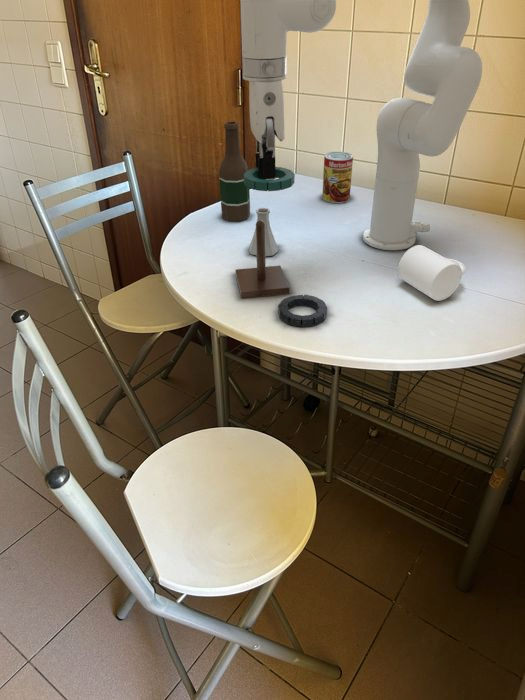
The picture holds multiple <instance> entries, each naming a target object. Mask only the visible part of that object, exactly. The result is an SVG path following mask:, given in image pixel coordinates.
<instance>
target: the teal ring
mask: <svg viewBox="0 0 525 700" xmlns="http://www.w3.org/2000/svg"><path fill="white" fill-rule="evenodd" d="M295 175H296V174H295V173H294V171H293V170H291V169H289V168H286V167H281V166H275V178H274V179H259V178H258V168H256V167H253V168H250V169H248V171H247V172H245V173H244V184H245V186H247V187H248V188H249V189H251V190H254V191H260V192H279V191H283V190H286V189H289V188H291V187H293V185H294V184H295V177H296V176H295Z"/></svg>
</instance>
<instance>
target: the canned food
mask: <svg viewBox="0 0 525 700" xmlns="http://www.w3.org/2000/svg"><path fill="white" fill-rule="evenodd" d="M353 163H354V155H353V154H352V153H350V152H346V151H329V152H327V153H325V154H324V156H323V175H322V176H323V177H322V195H321V197H322V200H323V201H325V202H327V203H332V204H342V203H346V202H348V201H350V199H351V187H352V175H353V165H354V164H353Z"/></svg>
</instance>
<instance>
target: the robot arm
mask: <svg viewBox="0 0 525 700" xmlns="http://www.w3.org/2000/svg"><path fill="white" fill-rule="evenodd" d="M239 1H240V3H239V4H240V31H241V63H242V65H241V66H242V67H241V68H242V79H243V80H244V81H247V82H248V93H249V94H248V97H249V98H248V101H249V103H248V104H249V105H248V106H249V125H250V131H251V133H252V135H253V136H254V138H255V154H254V155H255V168H258V178H259V179H265V180H272V179H276V178H275V167H276V138H277V139H278V141H279V142H283V141H284V140H285V134H286V133H285V103H284V102H285V101H284V88H283V80H285V79H287V56H288V55H287V53H288V52H287V49H288V48H287V47H288V46H287V45H288V42H287V41H288V39H287V38H288V33H289V32H300V33H308V34H309V33H311V34H312V33H317V32H319V31H322V30H323V29H326V27H327V26H328V25H330V24H331V22H332V21H333V19H334V17H335V14H336V10H337V0H239ZM470 7H471V6H470V2H469V0H428V8H427V13H426V17H425V20H424V22H423V25H422V28H421V30H420V32H419V35H418V38H417V40H416V43H415V45H414V47H413V49H412V51H411V54H410V57H409V59H408V62H407V65H406V67H405V71H404V75H403V81H404V85H405V86H406V88H407V89H408V90H409V91H411V92H412V93H415V94H416V95H420V96H421V95H422V96H425V97H430V98H434V99H433V101H432V103H429V102H425V101H422V100H417V99H412V98H407V97H396V98H393V99H390V100H389V101H388V102H386V103H385V104H384V105H383V106H382V108H380V110H379V113H378V116H377V119H376V142H377V161H376V162H377V163H376V170H375V180H374V189H373V190H374V191H373V198H372V207H371V208H372V209H371V215H370V227H368V228H367V229H366V228H365V230H364V231H363V233H362V240H363V242H364V243H365V244H367V245H368V246H369V247H372V248H375V249H378V250H385V251H401V250H407V249H410V248H412V247H413V246H414V244H415V243H416V239H417V237H416V235H417V234H418V233H429V232H430V231H431V224H430V223H422V222H421V221H420V220H417V221H413V215H414V209H415V202H416V195H417V190H418V184H419V179H420V178H419V177H420V172H421V159H420V155H421V156H424V157H425V156H426V157H432V158H433V157H439V156H440V155H442V154H443V153H445V152H446V151H447V150H448V149H449V148H450V146H451V145H452V143H453V142H454V140H455V138H456V136H457V134H458V133H459V130H460V128H461V126H462V124H463V121H464V119H465V118H466V115H467V113H468V111H469V109H470V107H471V104H472V103H473V101H474V99H475V97H476V94H477V92H478V90H479V87H480V84H481V80H482V77H483V76H482V75H483V62H482V58H481V56H480V54H479V53H478V52H477V51H476V50H475V49H473V48H470V47H468V46H467V47H466V46H461V45H462V43H463V40H464V39H465V35H466V33H467V30H468V29H469V28H468V27H469V25H470V20H471V8H470Z"/></svg>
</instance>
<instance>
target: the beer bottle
mask: <svg viewBox="0 0 525 700" xmlns="http://www.w3.org/2000/svg"><path fill="white" fill-rule="evenodd" d="M223 128H224V129H225V131H224V132H225V133H224V134H225V135H224V137H225V138H224V139H225V140H224V141H225V142H224V143H225V144H224V145H225V146H224V147H225V149H224V150H225V151H224V158H223V159H222V162H221V163H220V165H219V174H218V178H219V179H218V180H219V197H220V211H221V217H222V219H223V220H225V221H227V222H231V223H232V222H233V223H240V222H243V221H247V220H248V219H249V216H250V215H251V196H250V195H251V194H250V193H251V191H250V188H248V187H247V186H245V184H244V173H245V172H247V171H248V170H249V166H248V164H247V161H246V160H245V158H244V157H243V156H242V151H241V144H240V143H241V141H240V134H239V128H240V124H239V122H237V121H232V120H231V121H226V122H225V123H224V126H223Z"/></svg>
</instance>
